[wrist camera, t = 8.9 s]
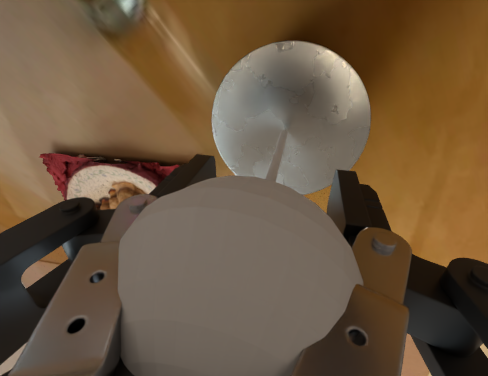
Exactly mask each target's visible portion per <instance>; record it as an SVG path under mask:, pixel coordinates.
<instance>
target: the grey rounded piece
mask: <svg viewBox="0 0 488 376" xmlns="http://www.w3.org/2000/svg"><path fill="white" fill-rule="evenodd" d="M370 124H371V108H370V103H369V98H368V94H367V92H366V89H365V86H364V84H363V82H362V80H361V79H360V77H359V75H358V74H357V73H356V71H355V70H354V69H353V67H352V66H351V65H350V64H349V63H348V62H347V61H346V60H344V59H343V58H342V57H341V56H340V55H338V54H337V53H335V52H334V51H332V50H330V49H328V48H326V47H324V46H322V45H319V44H316V43H312V42H308V41H300V40H289V41H281V42H275V43H271V44H268V45H265V46H262V47H260V48H258V49H256V50H254V51H252V52H250V53H249V54H247V55H246V56H244V57H243V58H242V59H241V60H239V61H238V62H237V63H236V64H235V65H234V66H233V67H232V68H231V70H230V71H229V72H228V73H227V74H226V76H225V78H224V79H223V81H222V82H221V84H220V86H219V89H218V91H217V93H216V97H215V100H214V104H213V110H212V130H213V135H214V140H215V143H216V146H217V149H218V151H219V153H220V155H221V157H222V158H223V160H224V162H225V163H226V165H227V166H228V167H229V168H230V169H231V171H232V172H233V173H234V174H235V175H236V176H250V177H259V178H263V179H266V176H267V173H268V170H269V167H270V164H271V161H272V158H273V155H274V152H275V149H276V146H277V142H278V139H279V136H280V133H281V131H283V130H285V131H287V133H288V135H287V139H286V142H285V146H284V150H283V154H282V158H281V162H280V166H279V170H278V174H277V178H276V182H278V183H280V184H282V185H285V186H287V187H290V188H292V189H294V190H295V191H297V192H298V193H300V194H301V195H305V194H309V193H313V192H316V191H319V190H322V189H324V188H326V187H328V186H330V185H332V182H333V178H334V174H335V171H336V169H338V170H347V171H349V170H350V169H351V168H352V167H353V166H354V164H355V163H356V161H357V160H358V159H359V157H360V155H361V153H362V152H363V150H364V147H365V145H366V142H367V140H368V135H369V131H370Z"/></svg>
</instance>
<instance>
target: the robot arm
mask: <svg viewBox="0 0 488 376" xmlns="http://www.w3.org/2000/svg"><path fill="white" fill-rule="evenodd" d="M210 178H216V166H215V158H214V156H208V155H199V154H197V155H195V157H194V158H193V159H192V160H191V161H190V162H189V163H188V164H183V165H181V166H179V167H177V168H175V169H174V170H173V171H172V172H171V173H170V174H169V175H168V176H167V177H166V178H165V179H164V180H163V181H162V182H161V183H160V184H159V185H158V186H157V187H155V188H154V189H153V190H152V191H151V192H150V193H149V194H139V195H135V196H131V197H129V198H127V199H125V200H123V201H122V202H120V204H119V205H118V206H117V208H116V209H104V210H97V208H96V205H95V203H94V201H93V200H92V199H91V198H87V197H77V198H72V199H68V200H65V201H62V202H60V203H58V204H56V205H54V206H52V207H50V208H48V209H46V210H45V211H43V212H41V213H39V214H37V215H35V216H33V217H31V218H29V219H27V220H25V221H23V222H21V223H19V224H17V225H16V226H14V227H12V228H10V229H8V230H6V231H4V232H2V233H0V365H1V364H2V363H4V362H5V361H6V360H7V359H8V358H9V357H11V356H12V355H13V354H14V353H15V352H16V351H17V350H19V349H20V348H21V347H22V346H23V345H24V344H26V343H27V344H26V345H25V347H24V349H23V351H22V352H21V354H20V356H19V358H18V359H17V361H16V363H15V365H14V366H13V368H12V369H11V370H9V371H7V372H6V373H4V374H2V375H0V376H134V375H133V374H132V373H131V372H130V371H129V370H128V369H127V367H126V366H125V365H124V363H123V361H122V359H121V357H120V355H121V314H122V301H121V299H120V297H119V293H118V264H119V244H120V240H121V238H122V237H123V235H124V234H125V233H126V231H127V230H128V229H129V227H130V226H131V225H132V223H133V222H134V221H135V219H136V218H137V217H138V216H139V214H140V213H141V212H142V211H143V209H144V208H145V207H147V206H148V205H150V204H151V203H152V202H154V201H155V200H157V199H158V198H160V197H162V196H165V195H168V194H171V193H174V192H176V191H179V190H181V189H184V188H186V187H188V186H190V185H193V184H195V183H198V182H201V181H204V180H207V179H210ZM327 215H328V216H329V217H330V218H331V219H332V220H333V222H334V223H335V225H336V226H337V228H338V229H339V231H340V232H341V234H342V235H343V236H344V238H345V239H346V241H347V242H348V244H349V245H350V247H351V248H352V251H353V254H354V256H355V259H356V262H357V265H358V268H359V271H360V274H361V277H362V280H363V286H362V285H360V284H356V285H355V287H354V288H353V290H352V293H351V296H350V299H349V302H348V304H347V307H346V310H345V312H344V313H343V315H342V316H341V317H340V318H339V320H338V321H337V322H336V324H335V325H334V326H333V327H332V329H331V330H330V331H329V333H328V334H327V335H326V336H325V337H324V338H322V339H321V340H319V341H317V342H315V343H314V344H312V345H310V346H308V347H307V348H305V349H303V350H302V351H301V353H300V355H299V358H298V360H297V362H296V364H295V366H294V368H293V371H292V373H291V375H290V376H401V371H402V364H403V356H404V349H405V342H406V335H407V333H408V334H410V335H411V337H412V339H413V341H414V343H415V345H416V347H417V349H418V350H419V352H420V354H421V356H422V358H423V360H424V362H425V364H426V365H427V367H428V369H429V371H430V373H431V375H432V376H488V358H487V357H486V355H485V354H484V352H483V351H482V350H481V348H480V346H481V345H482V344H483V343H484V345H485V346H486V347H487V349H488V264H486V263H484V262H481V261H478V260H474V259H469V258H457V259H454V260H452V261H451V262H450V263H449V265H448V266H447V268H446V267H444V266H441V265H438V264H435V263H433V262H430V261H427V260H424V259H422V258H419V257H417V256H415V255H413V254H412V250H411V247H410V245H409V244H408V243H407V242H406V241H405V240H404V239H403V238H402V237H401V236H399V235H397V234H396V233H394V232H392V231H391V228H390V226H389V223H388V221H387V218H386V216H385V213H384V210H383V209H382V205H381V203H380V200H379V198H378V195H377V193H376V192H375V191H374V190H373V189H372V188H371V187H370V186H369V185H364V184H359V181H358V177H357V174H356V172H355V171H347V170H338V169H336V171H335V174H334V178H333V182H332V187H331V191H330V196H329V200H328V206H327ZM61 245H62V247H63V249H64V251H65V253H66V254H67V256H68V258H69V259H68V260H66V261H65V262H63V263H62V264H61V265H59V266H58V267H56V268H55V269H54V270H52V271H51V272H49V273H48V274H46V275H45V276H44V277H42V278H41V279H39V280H38V281H37V282H35V283H34V284H32V285H31V286H30V287H28V288H26V289H25V287H24V286H23V284H22V283H21V277H22V274H23V272H24V271H25V270H26V269H27V268H28V267H29V266H31V265H32V264H34V263H35V262H37V261H38V260H40V259H41V258H43V257H44V256H46V255H47V254H49V253H50V252H52V251H54V250H55V249H57V248H58V247H60V246H61Z"/></svg>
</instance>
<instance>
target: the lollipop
mask: <svg viewBox="0 0 488 376" xmlns="http://www.w3.org/2000/svg"><path fill="white" fill-rule="evenodd" d="M287 135H288V133H287V131H285V130H283V131H281V133H280V136H279V139H278V142H277V146H276V149H275V152H274V155H273V158H272V161H271V164H270V167H269V170H268V173H267V176H266V179H263V178H259V177H250V176H225V177H217V178H210V179H207V180H204V181H201V182H198V183H195V184H193V185H190V186H188V187H186V188H184V189H181V190H179V191H176V192H174V193H171V194H168V195H165V196H162V197H160V198H158V199H157V200H155V201H154V202H152V203H151V204H150V205H148V206H147V207H145V208H144V209H143V211H142V212H141V213H140V214H139V216H138V217H137V218H136V219H135V221H134V222H133V223H132V225H131V226H130V227H129V229H128V230H127V231H126V233H125V234H124V235H123V237H122V238H121V240H120V244H119V264H118V293H119V297H120V299H121V301H122V314H121V355H120V357H121V359H122V361H123V363H124V365H125V366H126V367H127V369H128V370H129V371H130V372H131V373H132V374H133V375H134V376H290V375H291V373H292V371H293V368H294V366H295V364H296V362H297V360H298V358H299V355H300V353H301V351H302V350H303V349H305V348H307V347H308V346H310V345H312V344H314V343H315V342H317V341H319V340H321V339H322V338H324V337H325V336H326V335H327V334H328V333H329V331H330V330H331V329H332V327H333V326H334V325H335V324H336V322H337V321H338V320H339V318H340V317H341V316H342V315H343V313H344V312H345V310H346V307H347V304H348V302H349V299H350V296H351V293H352V290H353V288H354V287H355V285H356V284H360V285H362V286H363V280H362V277H361V274H360V271H359V268H358V265H357V262H356V259H355V256H354V254H353V251H352V248H351V247H350V245H349V244H348V242H347V241H346V239H345V238H344V236H343V235H342V234H341V232H340V231H339V229H338V228H337V226H336V225H335V223H334V222H333V220H332V219H331V218H330V217H329V216H328V215H327V214H326V213H325V212H324V211H323V210H322V209H321V208H320V207H319V206H318V205H317V204H315V203H314V202H312V201H311V200H309V199H308V198H306V197H305V196H303V195H301V194H300V193H298V192H297V191H295V190H294V189H292V188H290V187H287V186H285V185H282V184H280V183H278V182H276V178H277V174H278V170H279V166H280V162H281V158H282V154H283V150H284V146H285V142H286V139H287Z"/></svg>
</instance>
